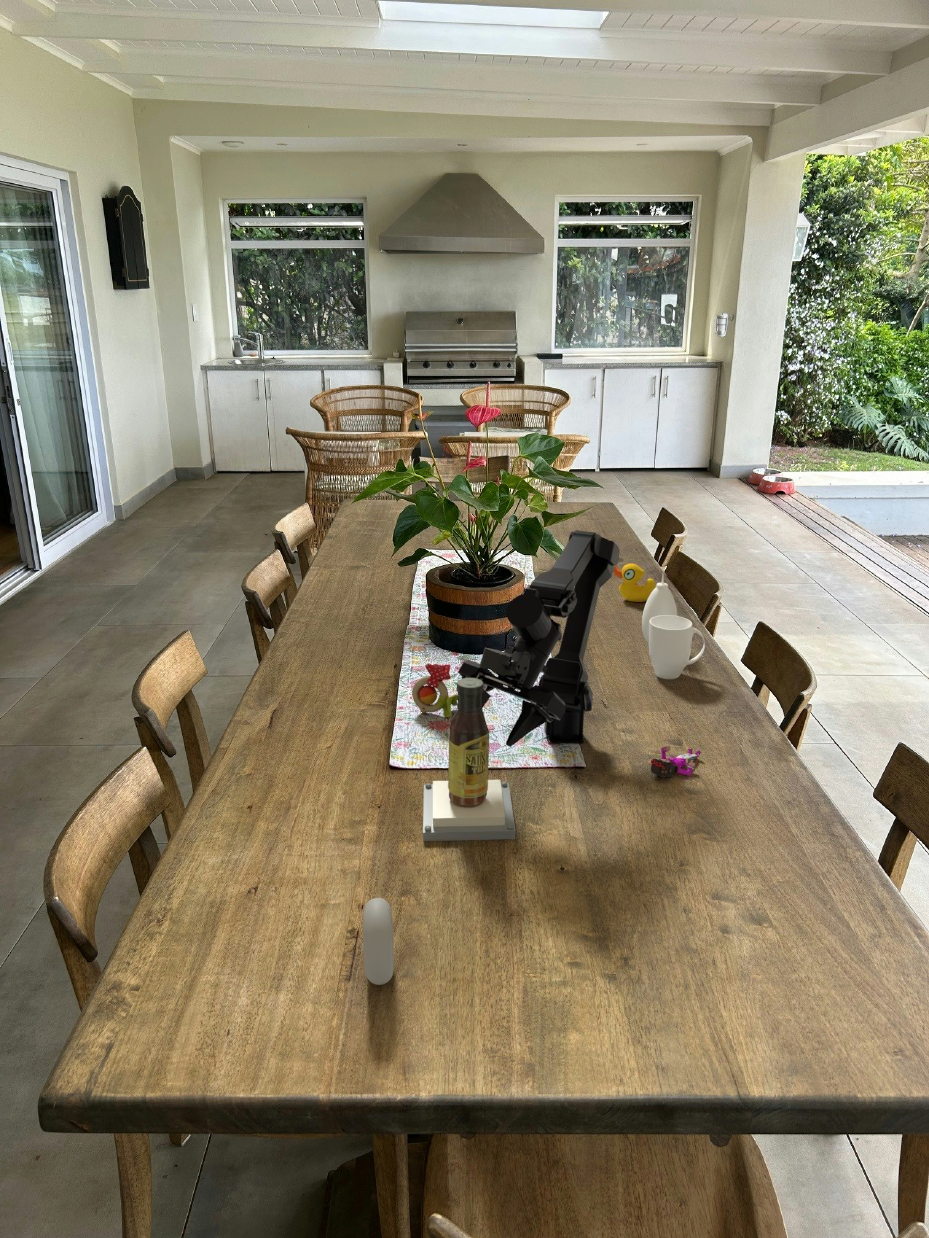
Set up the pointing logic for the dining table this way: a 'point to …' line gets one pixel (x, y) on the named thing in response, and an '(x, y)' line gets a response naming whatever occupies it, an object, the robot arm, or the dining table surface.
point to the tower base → (465, 830)
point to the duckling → (634, 583)
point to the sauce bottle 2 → (658, 605)
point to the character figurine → (673, 763)
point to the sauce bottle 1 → (468, 746)
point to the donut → (378, 941)
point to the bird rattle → (434, 690)
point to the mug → (671, 645)
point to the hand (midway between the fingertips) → (485, 735)
